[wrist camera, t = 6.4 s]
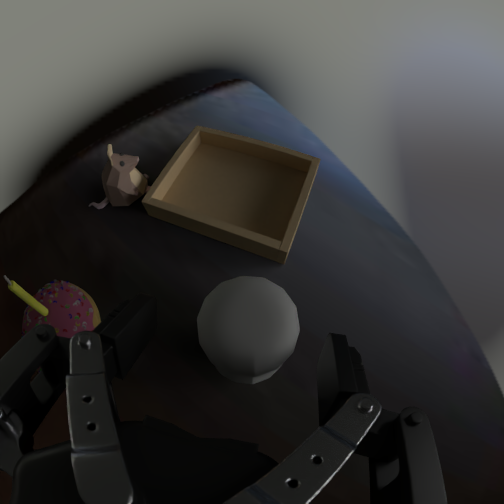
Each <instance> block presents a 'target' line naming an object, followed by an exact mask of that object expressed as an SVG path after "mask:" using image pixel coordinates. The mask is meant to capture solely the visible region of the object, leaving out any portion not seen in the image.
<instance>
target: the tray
mask: <svg viewBox="0 0 504 504" xmlns="http://www.w3.org/2000/svg"><path fill="white" fill-rule="evenodd" d="M319 163H320V159H319V158H316V157H313V156H310V155H307V154H304V153H301V152H297V151H294V150H291V149H288V148H284V147H281V146H278V145H274V144H271V143H267V142H263V141H260V140H256V139H252V138H248V137H245V136H241V135H236V134H232V133H228V132H224V131H219V130H215V129H210V128H206V127H201V126H196V127H195V128H194V130H193V131H192V132H191V133H190V135H189V136H188V137H187V138H186V140H185V141H184V142H183V144H182V145H181V146H180V147H179V149H178V150H177V151H176V153H175V154H174V155H173V157H172V158H171V159H170V161H169V162H168V164H167V165H166V166H165V168H164V169H163V170H162V172H161V173H160V175H159V176H158V177H157V179H156V180H155V182H154V183H153V185H152V186H151V188H150V189H149V191H148V192H147V194H146V195H145V197H144V198H143V200H142V201H141V202H142V204H143V206H144V207H145V209H146V211H147V213H148V215H149V216H152V217H155V218H158V219H160V220H163V221H166V222H169V223H171V224H174V225H177V226H180V227H182V228H185V229H188V230H191V231H193V232H196V233H199V234H202V235H204V236H207V237H210V238H213V239H215V240H218V241H221V242H224V243H227V244H229V245H232V246H235V247H238V248H240V249H243V250H246V251H249V252H251V253H254V254H257V255H260V256H262V257H265V258H268V259H271V260H273V261H276V262H279V263H282V264H285V261H286V258H287V256H288V253H289V250H290V247H291V245H292V242H293V239H294V236H295V233H296V231H297V228H298V225H299V222H300V219H301V217H302V214H303V211H304V208H305V205H306V202H307V199H308V196H309V194H310V191H311V188H312V185H313V182H314V179H315V176H316V173H317V169H318V166H319Z"/></svg>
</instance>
